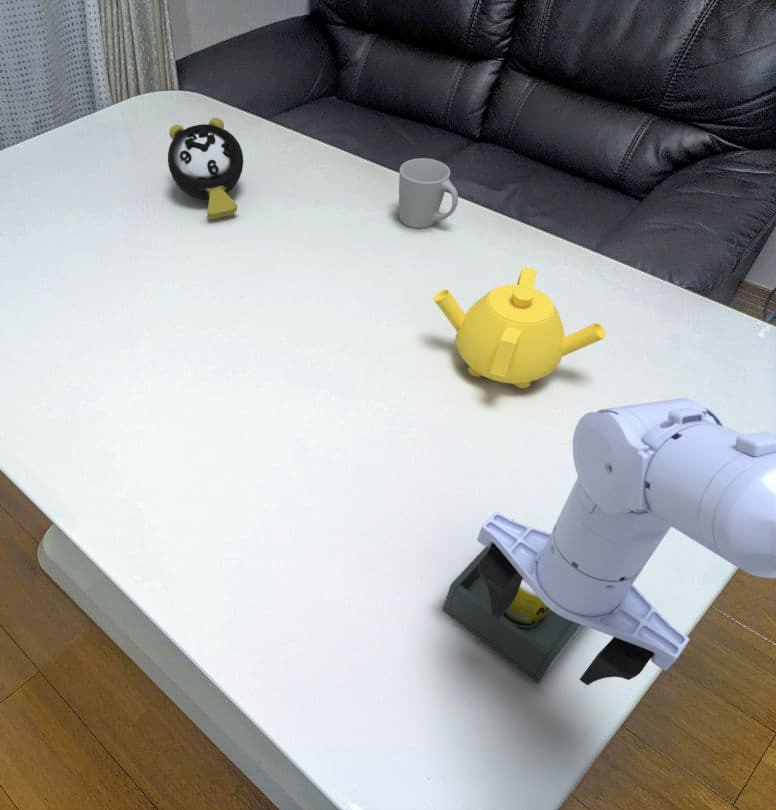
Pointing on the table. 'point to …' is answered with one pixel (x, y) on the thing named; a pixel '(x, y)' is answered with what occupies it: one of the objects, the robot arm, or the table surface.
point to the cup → (424, 192)
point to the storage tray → (508, 625)
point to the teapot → (513, 332)
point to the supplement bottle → (526, 608)
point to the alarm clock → (206, 164)
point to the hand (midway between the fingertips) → (544, 640)
